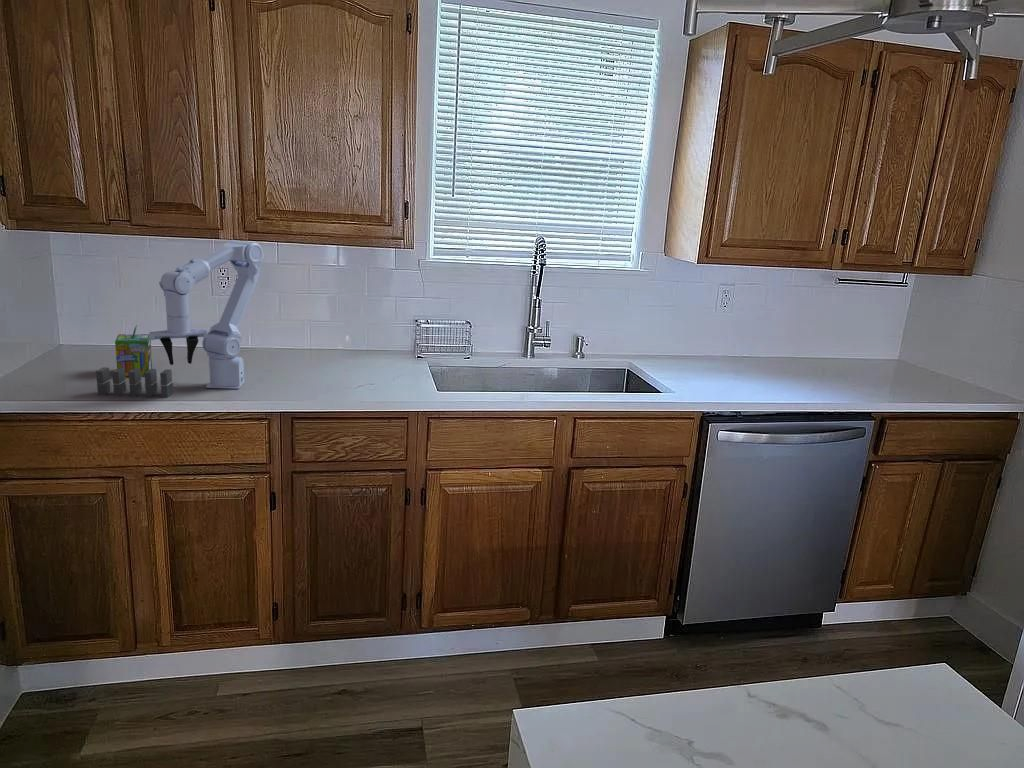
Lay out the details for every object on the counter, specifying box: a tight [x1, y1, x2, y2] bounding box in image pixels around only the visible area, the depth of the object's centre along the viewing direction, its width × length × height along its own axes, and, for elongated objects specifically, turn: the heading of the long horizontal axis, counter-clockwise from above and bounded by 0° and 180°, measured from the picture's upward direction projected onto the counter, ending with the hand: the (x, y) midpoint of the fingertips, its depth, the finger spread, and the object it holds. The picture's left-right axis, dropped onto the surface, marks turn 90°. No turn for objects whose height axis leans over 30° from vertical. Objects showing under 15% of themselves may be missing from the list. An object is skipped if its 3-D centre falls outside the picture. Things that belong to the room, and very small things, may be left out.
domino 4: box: [144, 368, 159, 398], centre depth 203 cm, size 2×4×7 cm, turn 7°
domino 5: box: [159, 368, 174, 399], centre depth 204 cm, size 2×4×7 cm, turn 7°
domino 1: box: [95, 367, 112, 396], centre depth 202 cm, size 2×4×7 cm, turn 7°
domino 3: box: [128, 368, 143, 398], centre depth 203 cm, size 2×4×7 cm, turn 7°
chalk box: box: [114, 325, 153, 377], centre depth 223 cm, size 9×9×15 cm
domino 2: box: [111, 368, 127, 397], centre depth 202 cm, size 2×4×7 cm, turn 7°
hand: (180, 363), depth 203 cm, fingers open, 4 cm apart
